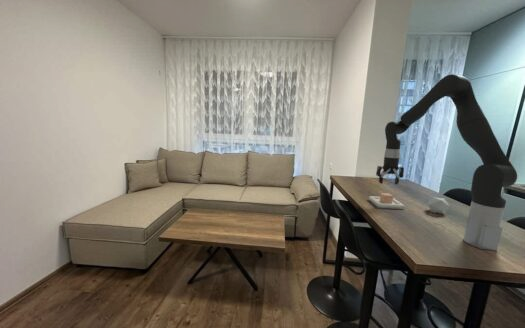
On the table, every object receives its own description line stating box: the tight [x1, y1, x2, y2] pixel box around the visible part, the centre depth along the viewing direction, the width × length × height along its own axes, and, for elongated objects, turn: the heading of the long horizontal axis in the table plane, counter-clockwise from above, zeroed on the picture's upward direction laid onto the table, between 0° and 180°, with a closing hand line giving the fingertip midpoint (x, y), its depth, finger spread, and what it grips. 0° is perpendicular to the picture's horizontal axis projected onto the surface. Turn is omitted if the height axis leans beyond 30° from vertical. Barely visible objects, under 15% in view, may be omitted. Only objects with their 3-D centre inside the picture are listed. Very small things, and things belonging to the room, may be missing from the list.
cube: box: [379, 192, 394, 204], centre depth 131 cm, size 5×5×5 cm
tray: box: [368, 195, 405, 210], centre depth 132 cm, size 14×14×2 cm
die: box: [426, 196, 450, 215], centre depth 121 cm, size 8×9×10 cm
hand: (388, 183), depth 129 cm, fingers open, 8 cm apart
